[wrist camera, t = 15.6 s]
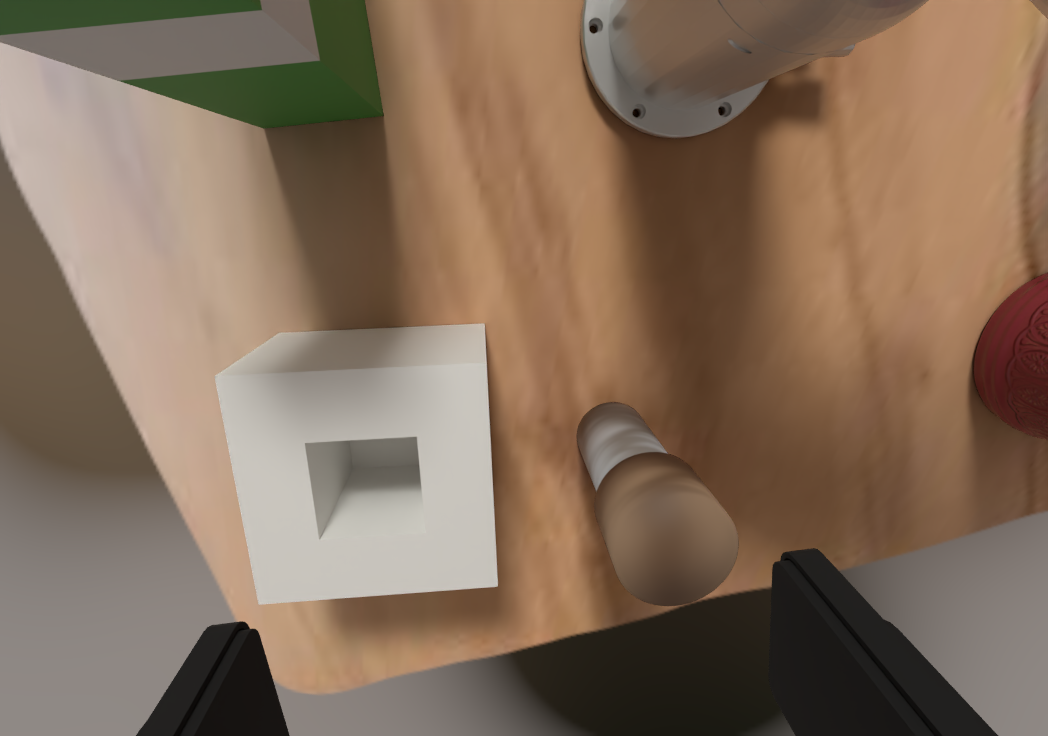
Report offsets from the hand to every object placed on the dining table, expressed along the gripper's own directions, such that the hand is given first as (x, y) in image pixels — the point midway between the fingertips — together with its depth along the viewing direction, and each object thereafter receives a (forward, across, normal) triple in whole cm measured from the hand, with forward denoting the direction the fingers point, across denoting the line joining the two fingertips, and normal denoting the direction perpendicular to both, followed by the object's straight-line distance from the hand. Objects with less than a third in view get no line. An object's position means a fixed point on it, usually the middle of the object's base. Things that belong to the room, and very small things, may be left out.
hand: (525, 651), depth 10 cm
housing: (+31, +8, +7) cm, 33 cm away
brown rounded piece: (+31, -8, +10) cm, 33 cm away
